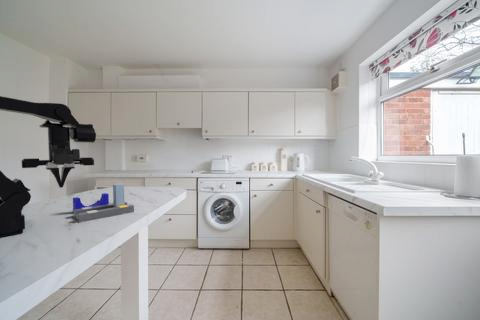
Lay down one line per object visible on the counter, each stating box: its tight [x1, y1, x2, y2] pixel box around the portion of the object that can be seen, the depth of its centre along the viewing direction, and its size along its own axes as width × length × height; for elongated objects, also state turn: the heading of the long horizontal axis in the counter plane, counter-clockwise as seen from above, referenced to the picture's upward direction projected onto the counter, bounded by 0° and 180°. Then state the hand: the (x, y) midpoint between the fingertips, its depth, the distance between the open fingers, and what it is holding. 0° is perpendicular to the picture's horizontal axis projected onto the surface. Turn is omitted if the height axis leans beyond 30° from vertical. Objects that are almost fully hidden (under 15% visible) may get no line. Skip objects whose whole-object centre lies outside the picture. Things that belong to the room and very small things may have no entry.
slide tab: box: [112, 183, 126, 207], centre depth 89 cm, size 3×4×10 cm
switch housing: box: [73, 201, 135, 223], centre depth 85 cm, size 18×10×3 cm, turn 136°
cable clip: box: [72, 192, 110, 213], centre depth 92 cm, size 12×4×6 cm, turn 144°
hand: (61, 187), depth 75 cm, fingers closed
